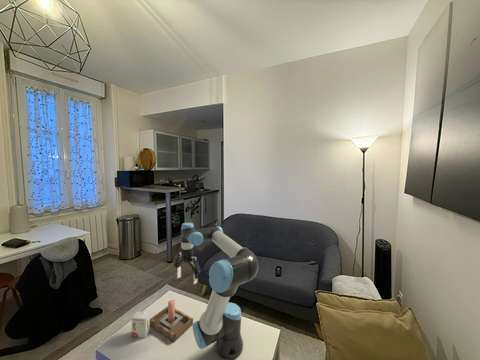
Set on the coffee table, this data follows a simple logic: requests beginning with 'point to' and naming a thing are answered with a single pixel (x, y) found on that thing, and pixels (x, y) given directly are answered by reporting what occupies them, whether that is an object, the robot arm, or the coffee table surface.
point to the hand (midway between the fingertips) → (186, 280)
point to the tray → (178, 330)
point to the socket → (173, 325)
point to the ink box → (140, 324)
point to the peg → (171, 311)
